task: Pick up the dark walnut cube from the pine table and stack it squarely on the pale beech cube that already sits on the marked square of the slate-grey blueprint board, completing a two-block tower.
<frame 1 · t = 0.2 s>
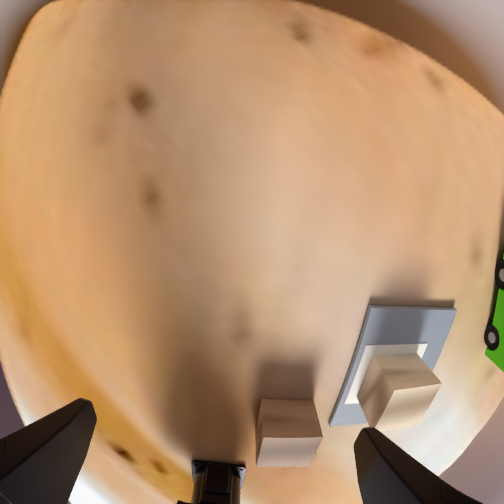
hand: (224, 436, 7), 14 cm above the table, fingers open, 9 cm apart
blueprint board: (392, 370, 24), on the table
walnut block: (283, 416, 25), on the table
beech block: (387, 375, 23), point 1 cm above the table, touching blueprint board
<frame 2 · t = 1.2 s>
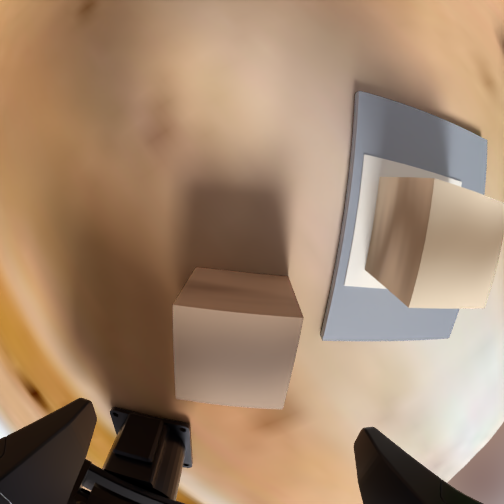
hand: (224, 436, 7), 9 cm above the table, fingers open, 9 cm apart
blueprint board: (418, 230, 15), on the table
walnut block: (237, 313, 16), on the table
beech block: (411, 230, 14), point 1 cm above the table, touching blueprint board
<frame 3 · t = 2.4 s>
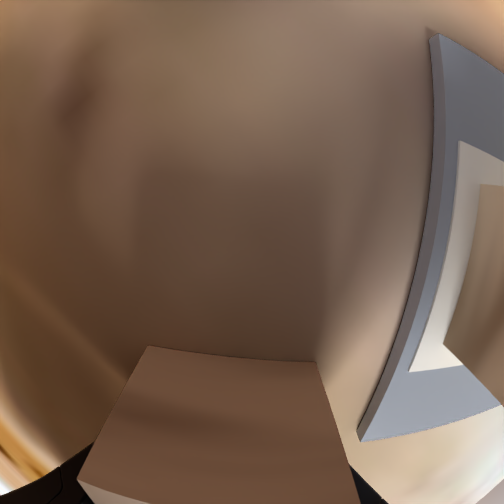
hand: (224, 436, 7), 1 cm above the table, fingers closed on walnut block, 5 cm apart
walnut block: (226, 414, 8), on the table, touching gripper
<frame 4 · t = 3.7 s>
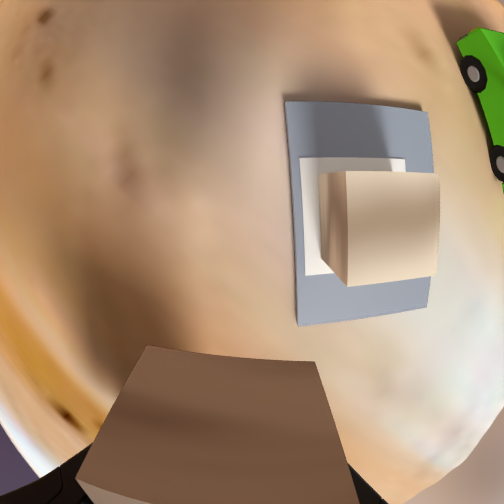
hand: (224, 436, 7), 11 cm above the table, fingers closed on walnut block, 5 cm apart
blueprint board: (369, 213, 17), on the table
toy car: (497, 112, 15), on the table
walnut block: (225, 413, 8), point 10 cm above the table, touching gripper
beech block: (359, 215, 16), point 1 cm above the table, touching blueprint board
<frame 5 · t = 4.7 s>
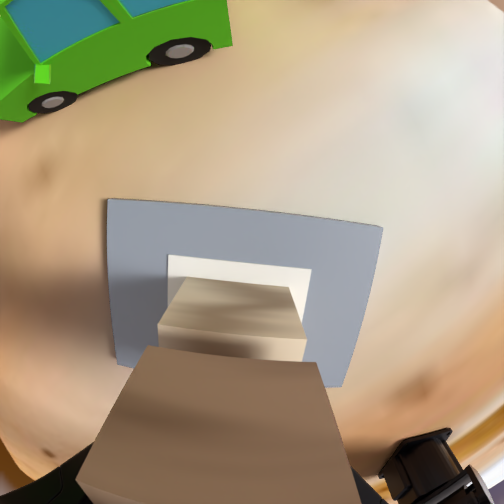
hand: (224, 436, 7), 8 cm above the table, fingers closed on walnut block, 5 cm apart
blueprint board: (235, 304, 15), on the table
toy car: (113, 35, 11), on the table
walnut block: (226, 414, 8), point 7 cm above the table, touching gripper
beech block: (233, 326, 14), point 1 cm above the table, touching blueprint board
when the fingers open (8 cm above the table, at t = 5.1 s): walnut block stays where it is, resting on beech block.
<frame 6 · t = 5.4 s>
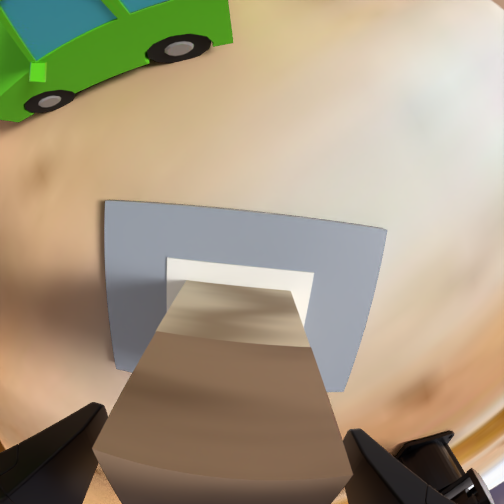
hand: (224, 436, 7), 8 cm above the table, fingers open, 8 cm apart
blueprint board: (236, 308, 15), on the table
toy car: (111, 33, 11), on the table
walnut block: (228, 397, 9), point 6 cm above the table, touching beech block
beech block: (234, 331, 14), point 1 cm above the table, touching blueprint board, walnut block
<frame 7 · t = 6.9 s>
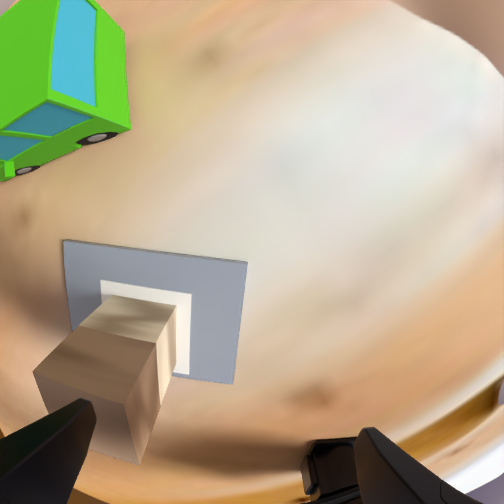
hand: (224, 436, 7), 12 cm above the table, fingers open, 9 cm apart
blueprint board: (146, 314, 20), on the table
toy car: (61, 112, 16), on the table
walnut block: (119, 369, 15), point 6 cm above the table, touching beech block
beech block: (144, 330, 20), point 1 cm above the table, touching blueprint board, walnut block
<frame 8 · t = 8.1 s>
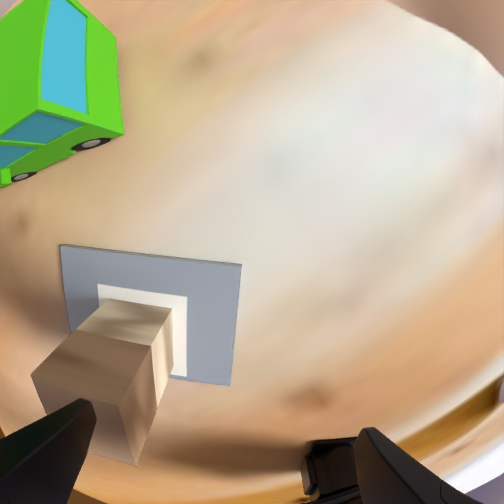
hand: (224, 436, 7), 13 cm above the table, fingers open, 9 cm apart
blueprint board: (143, 317, 20), on the table
toy car: (56, 118, 17), on the table
walnut block: (116, 371, 15), point 6 cm above the table, touching beech block
beech block: (141, 333, 20), point 1 cm above the table, touching blueprint board, walnut block
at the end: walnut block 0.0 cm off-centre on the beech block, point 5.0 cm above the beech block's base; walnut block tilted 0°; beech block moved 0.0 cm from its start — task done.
